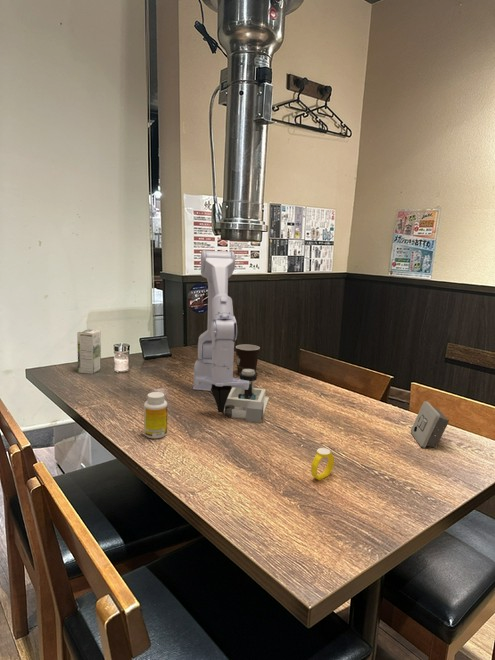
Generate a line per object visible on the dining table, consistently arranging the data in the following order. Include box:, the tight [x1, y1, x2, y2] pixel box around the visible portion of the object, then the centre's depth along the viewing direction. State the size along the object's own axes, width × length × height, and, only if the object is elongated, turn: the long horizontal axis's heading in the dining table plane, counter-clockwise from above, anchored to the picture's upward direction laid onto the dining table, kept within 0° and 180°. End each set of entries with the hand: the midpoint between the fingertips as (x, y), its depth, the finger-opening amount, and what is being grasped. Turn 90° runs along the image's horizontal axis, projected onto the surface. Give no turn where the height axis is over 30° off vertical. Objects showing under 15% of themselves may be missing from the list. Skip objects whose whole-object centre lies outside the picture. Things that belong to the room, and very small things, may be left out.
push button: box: [238, 369, 259, 400], centre depth 126 cm, size 7×5×10 cm
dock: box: [223, 387, 270, 424], centre depth 125 cm, size 12×19×4 cm, turn 171°
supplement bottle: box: [143, 391, 168, 439], centre depth 105 cm, size 6×6×10 cm
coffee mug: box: [235, 343, 261, 377], centre depth 157 cm, size 12×9×10 cm
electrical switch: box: [410, 400, 450, 449], centre depth 108 cm, size 9×5×9 cm, turn 176°
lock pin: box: [224, 405, 246, 420], centre depth 118 cm, size 8×3×3 cm, turn 81°
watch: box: [310, 447, 335, 481], centre depth 89 cm, size 6×3×6 cm, turn 132°
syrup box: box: [76, 328, 102, 375], centre depth 150 cm, size 6×6×14 cm
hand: (221, 411), depth 119 cm, fingers closed
